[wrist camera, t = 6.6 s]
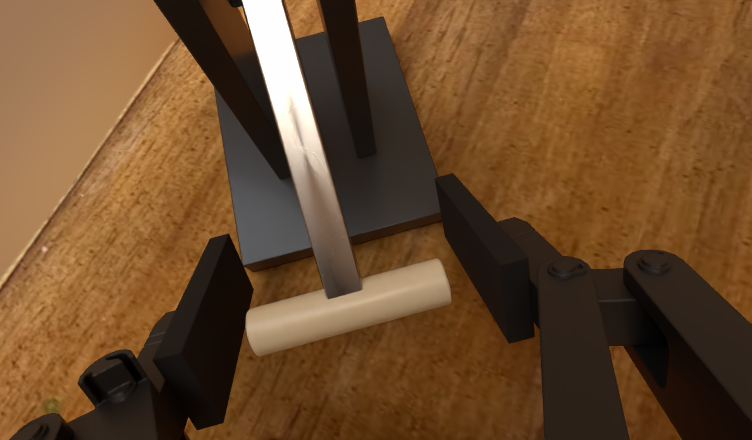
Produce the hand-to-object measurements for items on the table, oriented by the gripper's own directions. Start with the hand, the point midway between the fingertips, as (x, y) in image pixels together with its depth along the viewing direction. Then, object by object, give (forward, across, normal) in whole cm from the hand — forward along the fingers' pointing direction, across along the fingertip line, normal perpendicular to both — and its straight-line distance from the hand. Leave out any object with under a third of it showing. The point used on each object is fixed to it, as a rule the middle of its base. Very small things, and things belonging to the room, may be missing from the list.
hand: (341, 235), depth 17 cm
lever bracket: (+8, 0, +2) cm, 8 cm away
